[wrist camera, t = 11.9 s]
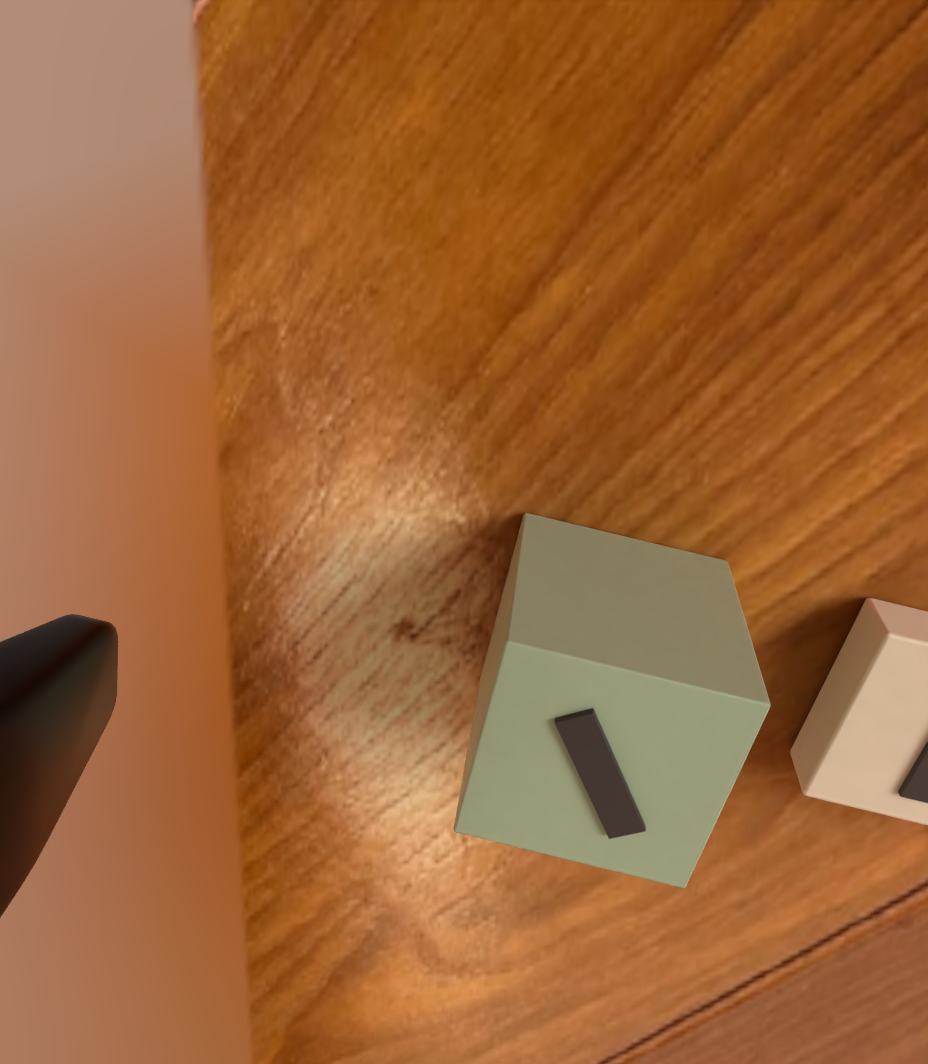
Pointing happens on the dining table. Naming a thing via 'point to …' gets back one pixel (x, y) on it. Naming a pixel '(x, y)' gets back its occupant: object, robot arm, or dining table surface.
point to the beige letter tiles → (872, 718)
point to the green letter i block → (611, 703)
